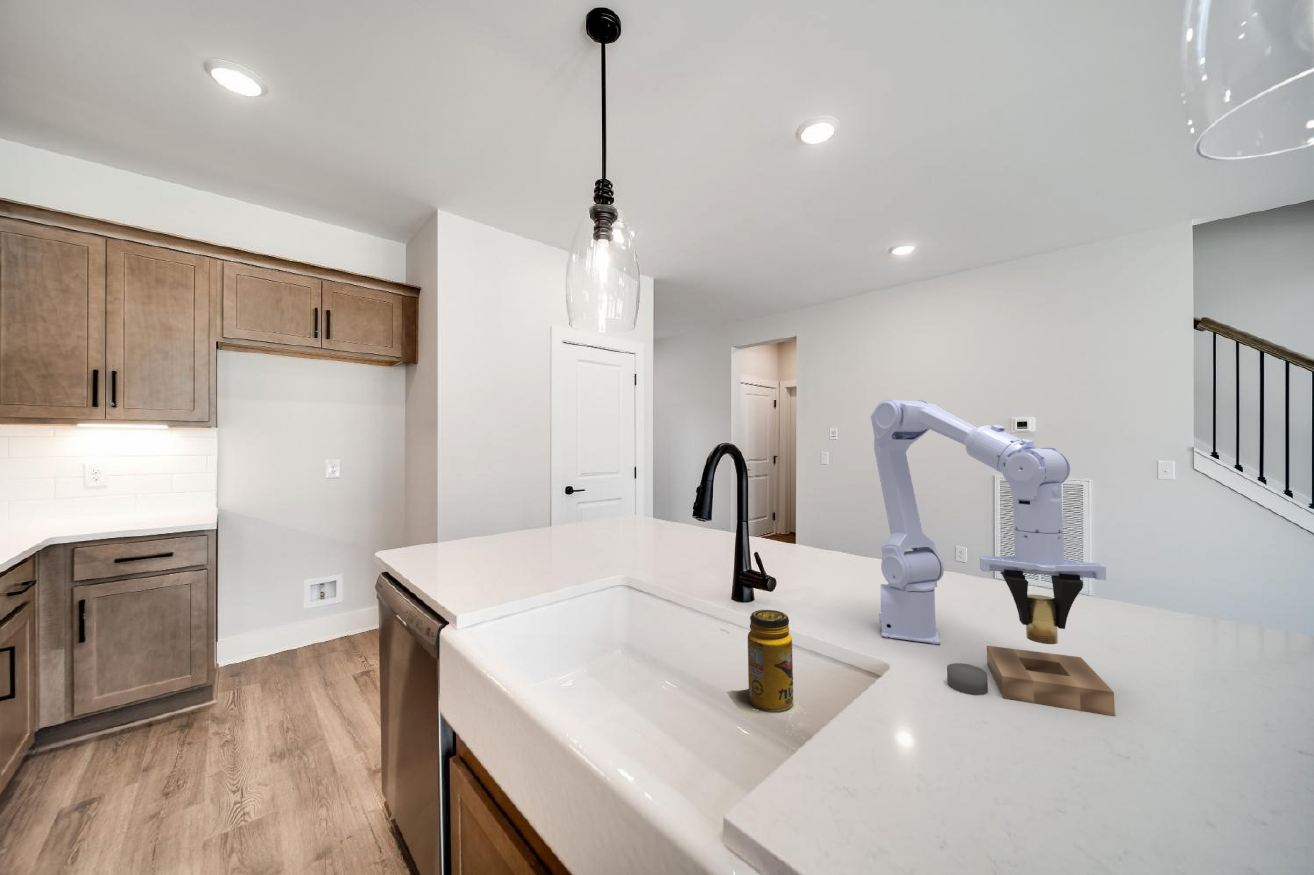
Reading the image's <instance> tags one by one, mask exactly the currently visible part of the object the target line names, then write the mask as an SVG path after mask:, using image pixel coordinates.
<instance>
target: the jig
mask: <svg viewBox="0 0 1314 875" xmlns="http://www.w3.org/2000/svg"><path fill="white" fill-rule="evenodd" d="M986 665H987V667H988V669H989V671H990V673H991V675H992V678H993V680H994V681H995V684H996V685H997V688H998V691H999V692H1000V694H1001V696H1002V698H1003V699H1007V700H1013V701H1020V702H1026V703H1032V704H1039V705H1043V706H1044V705H1045V706H1051V707H1056V708H1063V709H1070V710H1075V711H1081V712H1087V713H1088V712H1089V713H1094V714H1100V715H1107V716H1114V717H1115V716H1116V712H1115V710H1116V709H1115V706H1116V705H1115V692H1114V691H1113V689H1112V688H1110V686H1109V685H1108V684H1107V683H1106V682H1105V681H1104V680H1103V679H1102V678H1101V677H1100V676H1099V674H1097V672H1096V671H1095V670H1094V669H1092V667H1091V666H1090V665H1089V664H1088V663H1087V661H1085V660H1084V659H1083V658H1082V656H1073V655H1067V654H1059V653H1058V654H1057V653H1050V652H1041V651H1034V650H1026V649H1018V648H1011V647H1004V646H1003V647H1001V646H994V645H986Z"/></svg>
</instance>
